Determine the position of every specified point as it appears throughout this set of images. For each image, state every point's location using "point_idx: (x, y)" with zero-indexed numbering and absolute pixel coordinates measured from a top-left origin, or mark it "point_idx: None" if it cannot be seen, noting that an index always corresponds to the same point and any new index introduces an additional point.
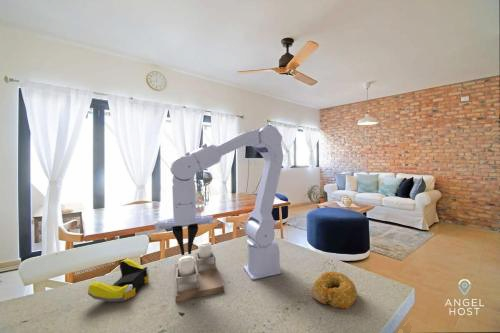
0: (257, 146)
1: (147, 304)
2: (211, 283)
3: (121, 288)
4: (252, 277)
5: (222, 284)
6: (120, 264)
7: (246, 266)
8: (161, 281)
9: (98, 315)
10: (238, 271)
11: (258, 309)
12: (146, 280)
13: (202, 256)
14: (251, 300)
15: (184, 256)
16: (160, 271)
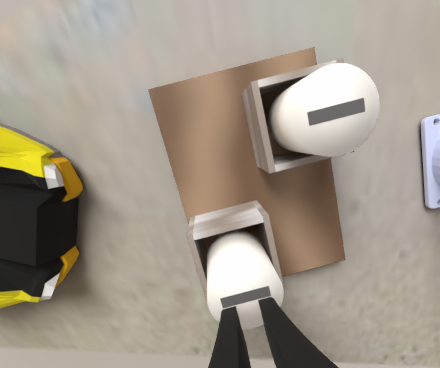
0: None
1: (135, 285)
2: (308, 244)
3: (24, 299)
4: (433, 204)
5: (341, 253)
6: None
7: (434, 127)
8: (130, 178)
9: (26, 313)
10: (394, 146)
11: (404, 319)
12: (76, 193)
13: (295, 151)
14: (397, 290)
15: (230, 270)
16: (97, 103)
